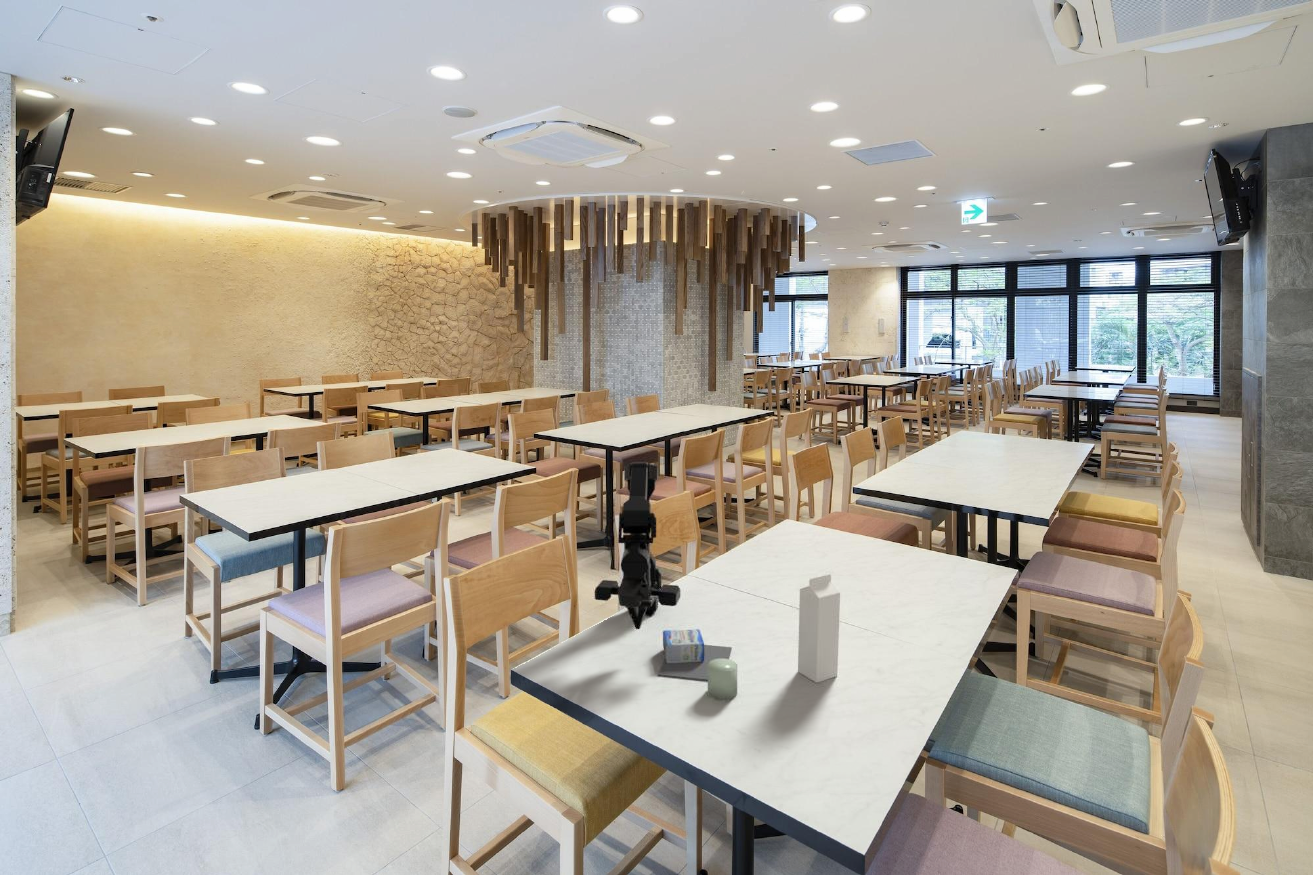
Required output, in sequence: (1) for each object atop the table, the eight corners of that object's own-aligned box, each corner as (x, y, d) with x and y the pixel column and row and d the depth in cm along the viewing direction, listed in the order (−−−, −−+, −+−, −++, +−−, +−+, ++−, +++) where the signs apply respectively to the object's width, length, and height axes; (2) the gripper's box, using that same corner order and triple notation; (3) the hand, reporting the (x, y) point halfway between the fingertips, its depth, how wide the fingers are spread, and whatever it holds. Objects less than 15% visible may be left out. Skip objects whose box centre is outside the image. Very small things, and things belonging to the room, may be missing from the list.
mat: (657, 675, 149) (657, 674, 149) (672, 642, 164) (672, 641, 164) (722, 682, 146) (722, 681, 146) (731, 648, 161) (731, 647, 161)
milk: (837, 676, 148) (841, 578, 144) (816, 683, 145) (819, 583, 141) (817, 664, 153) (821, 569, 150) (796, 671, 150) (800, 574, 147)
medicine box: (662, 630, 160) (699, 627, 161) (662, 648, 161) (699, 645, 162) (665, 645, 152) (704, 643, 153) (666, 664, 153) (704, 661, 154)
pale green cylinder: (705, 698, 139) (705, 670, 138) (710, 683, 145) (710, 657, 144) (735, 702, 138) (735, 674, 137) (738, 686, 144) (739, 660, 143)
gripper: (585, 571, 149) (587, 640, 151) (670, 578, 144) (671, 648, 147) (601, 555, 159) (602, 619, 162) (680, 560, 155) (681, 626, 158)
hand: (638, 628), depth 157 cm, fingers closed
